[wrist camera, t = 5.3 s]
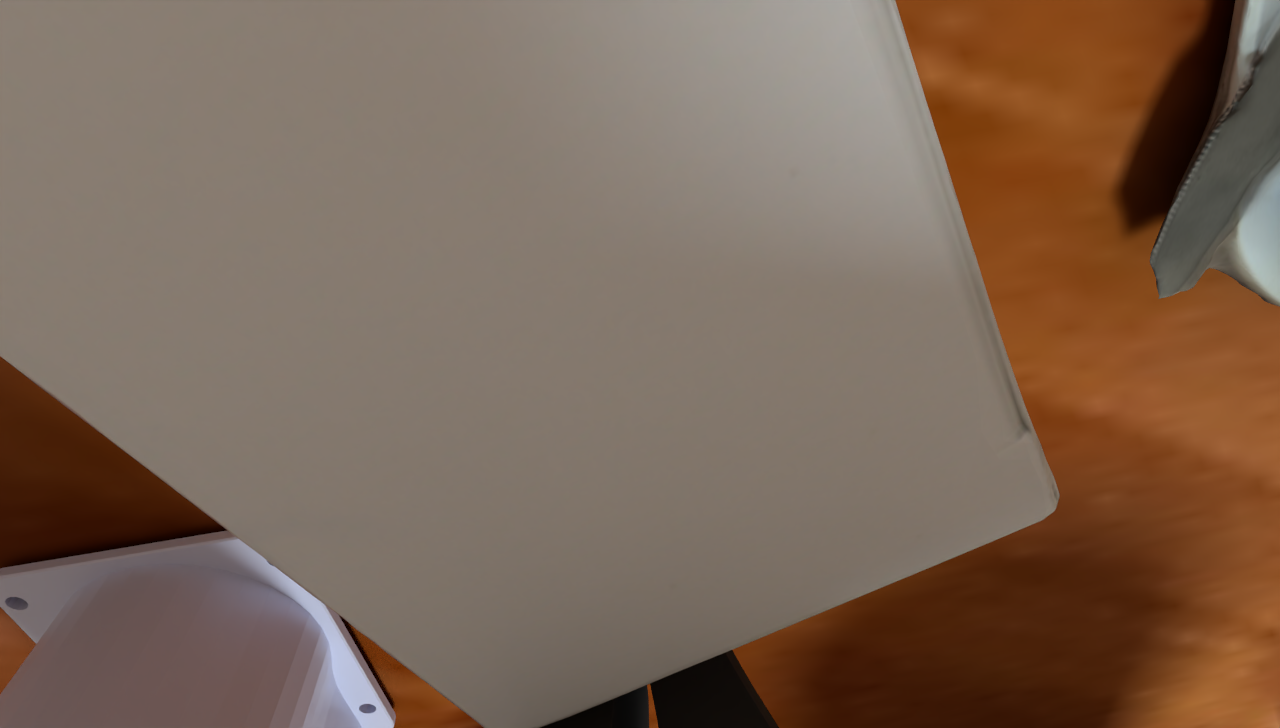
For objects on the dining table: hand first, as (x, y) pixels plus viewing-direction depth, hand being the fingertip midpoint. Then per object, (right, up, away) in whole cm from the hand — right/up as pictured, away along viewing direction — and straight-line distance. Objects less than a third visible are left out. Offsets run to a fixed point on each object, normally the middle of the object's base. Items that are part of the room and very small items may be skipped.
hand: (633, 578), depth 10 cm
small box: (-2, +9, +3) cm, 10 cm away
